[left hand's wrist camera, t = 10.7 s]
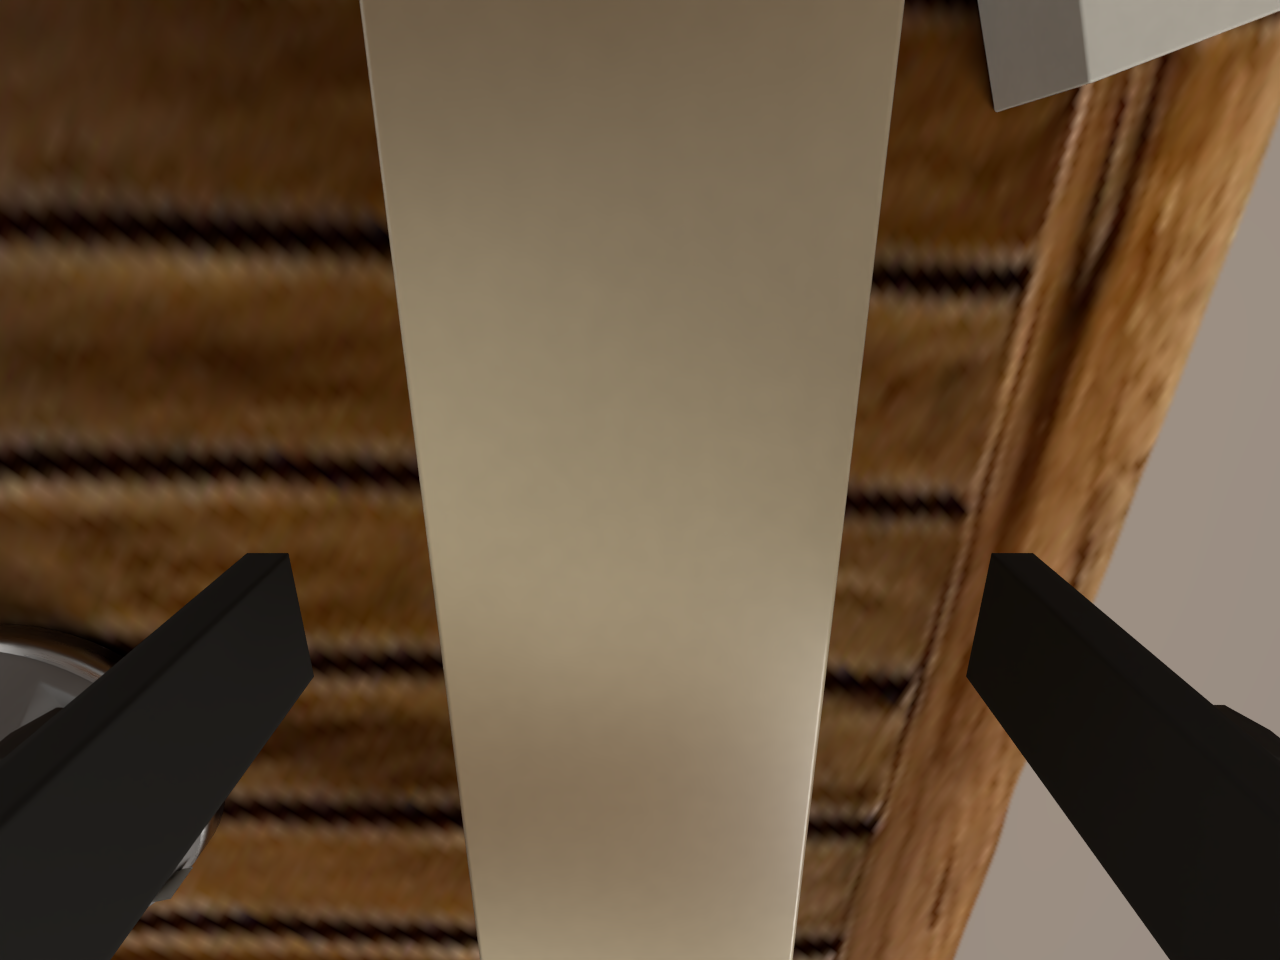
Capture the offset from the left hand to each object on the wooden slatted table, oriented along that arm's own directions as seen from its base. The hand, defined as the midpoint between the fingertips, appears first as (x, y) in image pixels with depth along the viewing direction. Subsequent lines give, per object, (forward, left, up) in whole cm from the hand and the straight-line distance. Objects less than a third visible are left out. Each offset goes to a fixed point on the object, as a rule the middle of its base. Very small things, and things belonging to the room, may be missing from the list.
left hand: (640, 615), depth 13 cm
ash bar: (0, +10, -2) cm, 10 cm away
